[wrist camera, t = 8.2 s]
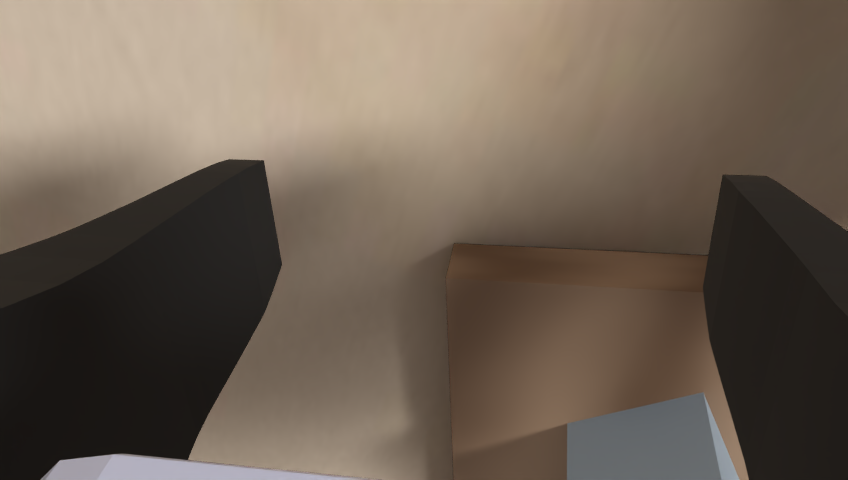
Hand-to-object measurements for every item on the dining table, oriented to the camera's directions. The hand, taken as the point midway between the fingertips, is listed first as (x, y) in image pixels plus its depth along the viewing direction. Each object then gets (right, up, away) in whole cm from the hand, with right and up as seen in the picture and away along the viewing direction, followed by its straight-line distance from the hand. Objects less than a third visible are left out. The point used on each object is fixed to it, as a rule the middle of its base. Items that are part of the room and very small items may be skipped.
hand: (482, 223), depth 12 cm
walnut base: (+7, -7, +15) cm, 18 cm away
